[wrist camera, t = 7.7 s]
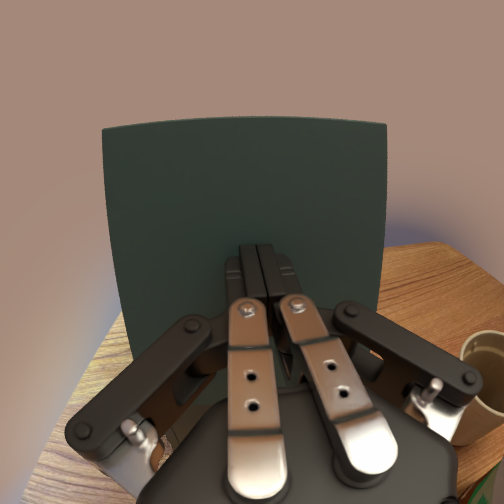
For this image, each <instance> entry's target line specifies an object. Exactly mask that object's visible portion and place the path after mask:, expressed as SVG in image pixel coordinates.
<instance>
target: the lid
mask: <svg viewBox="0 0 504 504" xmlns="http://www.w3.org/2000/svg"><path fill="white" fill-rule="evenodd" d="M102 149H103V169H104V184H105V196H106V206H107V217H108V225H109V234H110V241H111V249H112V256H113V262H114V268H115V275H116V281H117V286H118V292H119V297H120V302H121V307H122V312H123V317H124V322H125V326H126V331H127V335H128V339H129V344H130V348H131V352H132V356H133V360H135V359H136V358H137V357H138V356H139V355H140V354H142V353H143V352H144V351H145V350H146V349H147V348H148V347H149V346H150V345H151V344H152V343H154V342H155V341H156V340H157V339H158V338H159V337H160V336H161V335H162V334H163V333H164V332H165V331H167V330H168V329H169V328H170V327H171V326H172V325H173V324H174V323H175V322H176V321H177V320H179V319H180V318H181V317H183V316H186V315H189V314H199V315H202V316H204V317H206V318H207V319H211V318H214V317H216V316H218V315H220V314H221V313H223V312H224V311H225V309H226V308H227V300H226V289H225V270H224V263H225V262H226V260H227V258H228V257H234V256H239V245H252V244H255V245H256V244H272V245H273V248H274V252H275V254H285V255H286V256H287V257H288V258H289V259H290V260H291V262H292V265H293V269H294V270H295V273H296V276H297V278H298V281H299V284H300V286H301V289H302V292H303V295H305V296H307V297H309V298H310V299H311V300H312V301H313V302H314V304H315V306H316V307H320V308H325V309H333V310H334V309H335V307H336V305H337V304H338V303H340V302H342V301H347V300H350V301H355V302H358V303H360V304H362V305H364V306H366V307H367V308H369V309H371V310H373V311H375V312H376V311H377V303H378V296H379V288H380V279H381V270H382V260H383V249H384V236H385V221H386V201H387V125H386V124H384V123H376V122H367V121H357V120H345V119H331V118H314V117H287V116H286V117H285V116H239V117H214V118H213V117H212V118H194V119H181V120H169V121H158V122H149V123H140V124H132V125H125V126H118V127H111V128H104V129H102ZM269 345H270V346H271V347H272V353H273V361H274V370H275V379H276V387H286V383H285V380H284V377H283V374H282V371H281V367H280V364H279V361H278V358H277V355H276V352H275V343H274V339H273V336H271V337H269ZM358 346H360V347H361V348H363V349H365V350H366V351H368V352H370V349H368V348H367V347H365V346H363V345H362V344H360V343H358ZM286 388H287V387H286ZM226 397H228V367H227V368H225V369H222V370H219V371H217V373H216V376H215V377H214V379H213V380H212V381H211V382H210V383H209V384H208V386H207V387H206V388H205V389H204V390H203V391H202V392H201V394H200V395H199V396H198V397H197V398H196V399H195V400H194V402H193V403H192V404H191V405H190V406H199V405H214V404H215V403H217V402H218V401H220V400H222V399H224V398H226Z"/></svg>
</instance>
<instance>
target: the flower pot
mask: <svg viewBox="0 0 504 504" xmlns="http://www.w3.org/2000/svg"><path fill="white" fill-rule="evenodd" d="M459 359H460V360H462V361H464V362H466V363H467V364H469V365H471V366H473V367H474V368H476V369H477V370H478V371H479V372H480V374H481V376H482V378H483V388H482V390H481V391H480V392H479V393H478V394H477V396H476V397H475V398H474V399H473V400H472V402H471V403H470V404H469V406H468V407H467V408H466V409H465V410H464V412H463V414H462V417H461V419H460V421H459V424H458V426H457V428H456V430H455V432H454V434H453V437H452V439H451V441H450V443H451V444H452V445H456V446H465V445H469V444H471V443H473V442H475V441H476V440H478V439H479V438H481V437H483V436H484V435H486V434H487V433H489V432H491V431H492V430H494V429H496V428H497V427H499V426H500V425H502V424H503V423H504V333H502V332H499V331H493V330H485V331H480V332H477V333H474V334H473V335H471V336H470V337H469V338H467V340H466V341H465V342H464V344H463V345H462V347H461V350H460V353H459Z"/></svg>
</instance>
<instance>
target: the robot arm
mask: <svg viewBox="0 0 504 504" xmlns="http://www.w3.org/2000/svg"><path fill="white" fill-rule="evenodd" d="M224 270H225V289H226V300H227V308H226V309H225V311H224V312H223V313H221V314H220V315H218V316H216V317H214V318H211V319H207V318H206V317H204V316H202V315H199V314H189V315H186V316H183V317H181V318H180V319H179V320H177V321H176V322H175V323H174V324H173V325H172V326H171V327H170V328H169V329H168V330H167V331H165V332H164V333H163V334H162V335H161V336H160V337H159V338H158V339H157V340H156V341H155V342H154V343H152V344H151V345H150V346H149V347H148V348H147V349H146V350H145V351H144V352H143V353H142V354H140V355H139V356H138V357H137V358H136V359H135V360H134V361H133V362H132V363H131V364H130V365H129V366H127V367H126V368H125V369H124V370H123V371H122V372H121V373H120V374H119V375H118V376H117V377H115V378H114V379H113V380H112V381H111V382H110V383H109V384H108V385H107V386H106V387H105V388H104V389H102V390H101V391H100V392H99V393H98V394H97V395H96V396H95V397H94V398H93V399H92V400H90V401H89V402H88V403H87V404H86V405H85V406H84V407H83V408H82V409H81V410H80V411H78V412H77V413H76V414H75V415H74V416H73V417H72V418H71V419H70V420H69V421H68V423H67V424H66V427H65V432H64V433H65V439H66V441H67V443H68V445H69V446H70V447H71V448H73V449H74V450H75V451H76V452H77V453H78V454H80V455H81V456H82V457H83V458H84V459H85V460H87V461H88V462H89V463H90V464H92V465H93V466H94V467H95V468H97V469H98V470H99V471H101V472H102V473H103V474H105V475H106V476H108V477H111V478H112V479H113V480H114V481H115V482H116V483H117V484H119V485H120V486H121V487H122V488H123V489H124V490H126V491H127V492H128V493H129V494H130V495H132V496H133V497H134V498H135V499H137V501H136V504H460V503H459V500H458V497H457V484H456V483H457V471H458V458H457V454H456V451H455V449H454V447H453V446H452V444H451V443H450V441H451V439H452V437H453V434H454V432H455V430H456V428H457V426H458V424H459V421H460V419H461V417H462V414H463V412H464V410H465V409H466V408H467V407H468V406H469V404H470V403H471V402H472V400H473V399H474V398H475V397H476V396H477V394H478V393H479V392H480V391H481V390H482V388H483V378H482V376H481V374H480V372H479V371H478V370H477V369H476V368H474V367H473V366H471V365H469V364H467V363H466V362H464V361H462V360H460V359H458V358H457V357H455V356H453V355H451V354H450V353H448V352H446V351H444V350H442V349H441V348H439V347H437V346H435V345H434V344H432V343H430V342H428V341H426V340H425V339H423V338H421V337H419V336H418V335H416V334H414V333H412V332H410V331H409V330H407V329H405V328H403V327H402V326H400V325H398V324H396V323H394V322H393V321H391V320H389V319H387V318H385V317H384V316H382V315H380V314H378V313H376V312H375V311H373V310H371V309H369V308H367V307H366V306H364V305H362V304H360V303H358V302H355V301H350V300H347V301H342V302H340V303H338V304H337V305H336V307H335V309H334V310H333V309H325V308H320V307H316V306H315V304H314V302H313V301H312V300H311V299H310V298H309V297H307V296H305V295H303V292H302V289H301V286H300V284H299V281H298V278H297V276H296V273H295V270H294V269H293V265H292V262H291V260H290V259H289V258H288V257H287V256H286V255H285V254H275V252H274V248H273V245H272V244H256V245H255V244H252V245H239V256H234V257H228V258H227V260H226V262H225V263H224ZM271 336H273V339H274V343H275V352H276V355H277V358H278V361H279V364H280V367H281V371H282V374H283V377H284V380H285V383H286V387H287V388H286V387H276V379H275V370H274V361H273V353H272V347H271V346H270V345H269V337H271ZM358 343H360V344H362V345H363V346H365V347H367V348H368V349H370V350H372V351H373V352H375V353H377V354H379V355H380V356H381V357H382V358H383V360H384V361H383V360H381V359H380V358H378V357H376V356H375V355H373V354H371V353H370V352H368V351H366V350H365V349H363V348H361V347H360V346H358ZM227 367H228V397H226V398H224V399H222V400H220V401H218V402H217V403H215V404H214V405H212V406H211V407H210V408H209V409H208V410H207V411H206V412H205V413H204V414H203V416H202V417H201V418H200V419H199V421H198V422H197V423H196V424H195V426H194V427H193V428H192V429H191V431H190V432H189V433H188V434H187V436H186V437H185V438H184V439H183V441H182V442H181V443H180V444H179V446H178V447H177V448H176V449H175V450H174V452H173V453H172V454H171V455H170V457H169V458H168V459H167V460H166V461H165V463H164V464H163V465H162V466H161V467H160V468H159V470H158V471H157V469H158V464H159V461H160V460H161V458H162V457H163V455H164V451H165V447H164V443H163V441H162V439H161V437H162V436H163V435H164V434H165V433H166V432H167V431H168V429H169V428H170V427H171V426H172V425H173V424H174V423H175V422H176V421H177V419H178V418H179V417H180V416H181V415H182V414H183V413H184V412H185V411H186V409H187V408H188V407H189V406H190V405H191V404H192V403H193V402H194V400H195V399H196V398H197V397H198V396H199V395H200V394H201V392H202V391H203V390H204V389H205V388H206V387H207V386H208V384H209V383H210V382H211V381H212V380H213V379H214V377H215V376H216V373H217V371H219V370H222V369H225V368H227Z"/></svg>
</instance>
